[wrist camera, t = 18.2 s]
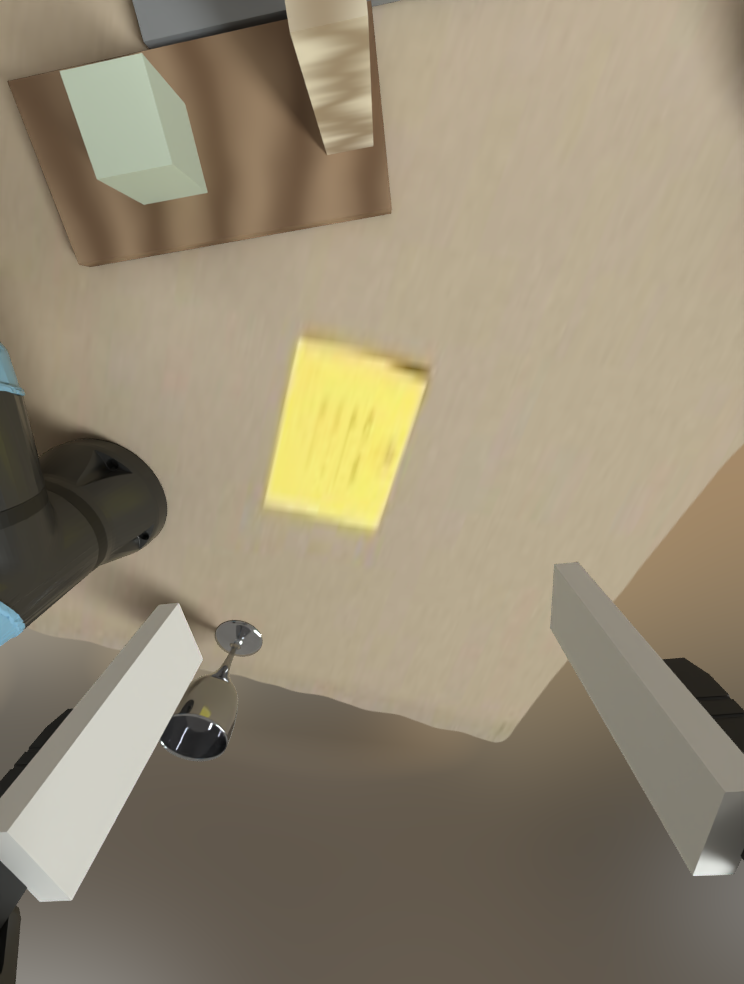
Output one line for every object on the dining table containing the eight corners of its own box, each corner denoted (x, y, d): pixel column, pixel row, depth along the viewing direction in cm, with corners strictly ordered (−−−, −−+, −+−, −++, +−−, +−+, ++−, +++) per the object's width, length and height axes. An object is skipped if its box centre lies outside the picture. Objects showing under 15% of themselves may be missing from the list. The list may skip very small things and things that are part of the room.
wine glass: (210, 652, 57) (155, 754, 43) (214, 613, 54) (156, 709, 40) (261, 662, 58) (224, 766, 44) (268, 624, 54) (230, 722, 41)
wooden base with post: (90, 266, 37) (-96, 224, 22) (23, 92, 32) (-270, -106, 17) (391, 213, 34) (398, 128, 20) (371, 15, 29) (362, -286, 15)
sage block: (144, 204, 33) (96, 179, 28) (116, 117, 31) (59, 71, 25) (207, 192, 33) (172, 164, 27) (184, 103, 30) (141, 52, 25)
